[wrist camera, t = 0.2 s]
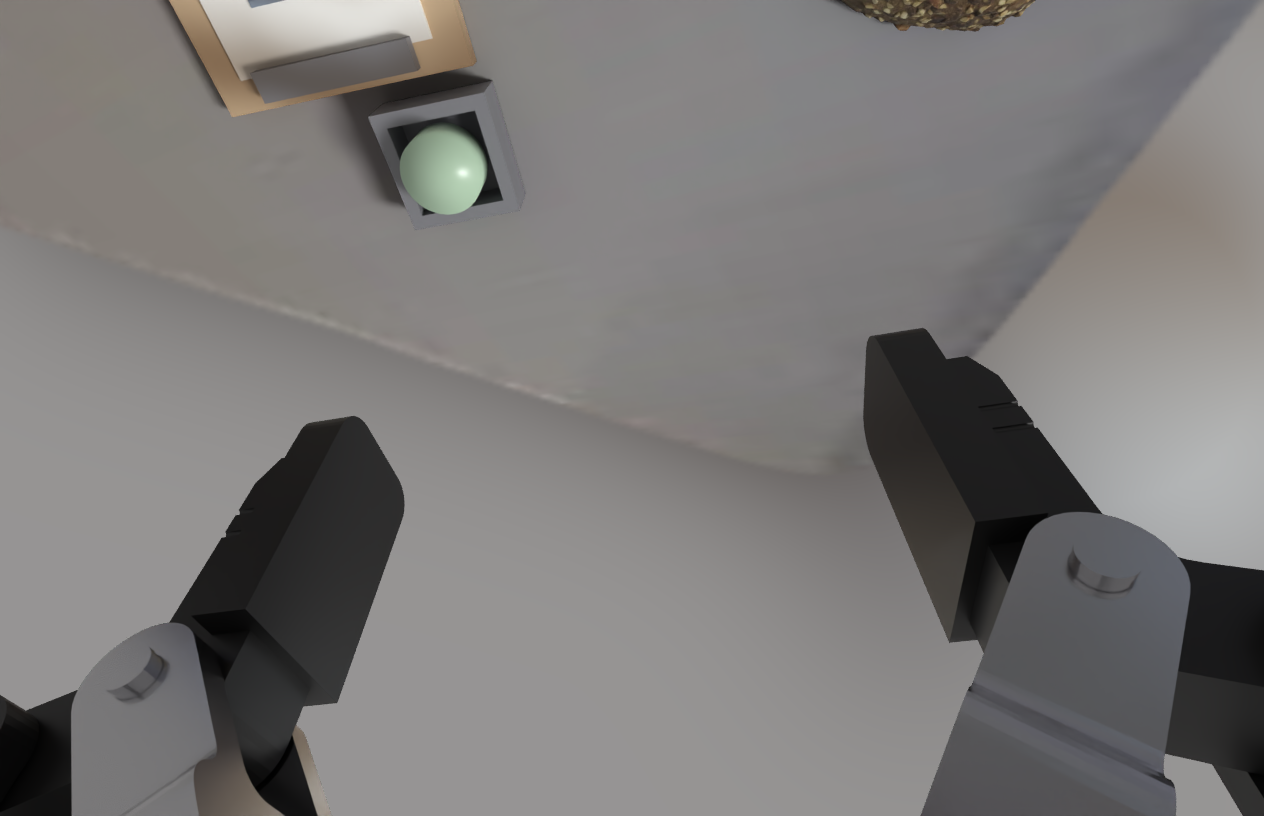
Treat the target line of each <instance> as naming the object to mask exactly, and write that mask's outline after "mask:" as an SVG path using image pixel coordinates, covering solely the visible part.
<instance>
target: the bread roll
mask: <svg viewBox="0 0 1264 816" xmlns="http://www.w3.org/2000/svg"><path fill="white" fill-rule="evenodd" d="M841 1H842V2H844V3H845V4H846V5H848V6H849V7H850V8H852V9H853V10H855V11H856V12H862V13H863V14H864V15H865V16H866V17H868V18H871V17H874V18H876V19H878V20H880V22H883V21H888V22H891V23H893V24H894V25H895V26H896V28H897V29H898V30H900V31H907V29H908V28H909V27H910V26H919V27H925V28H933V27H935V28H936V29H939V30H945V29H949V30H960V31H967V30H969V31H979V29H980V28H981V27H983V26H992V25H993V26H999V25H1001V24H1004V22H1005V20H1006V19H1007V18H1009V17H1010V16H1014V17H1019V16H1021V15H1022V14H1023V12H1024V11H1025V9H1026V8H1028V7H1029V6H1030V5H1031V4H1032V3H1033V2H1035V0H841Z"/></svg>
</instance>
